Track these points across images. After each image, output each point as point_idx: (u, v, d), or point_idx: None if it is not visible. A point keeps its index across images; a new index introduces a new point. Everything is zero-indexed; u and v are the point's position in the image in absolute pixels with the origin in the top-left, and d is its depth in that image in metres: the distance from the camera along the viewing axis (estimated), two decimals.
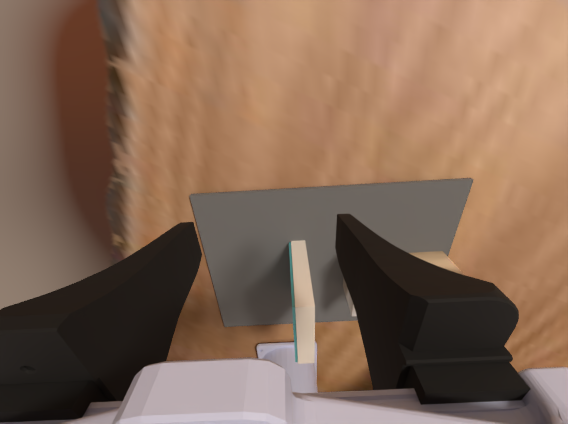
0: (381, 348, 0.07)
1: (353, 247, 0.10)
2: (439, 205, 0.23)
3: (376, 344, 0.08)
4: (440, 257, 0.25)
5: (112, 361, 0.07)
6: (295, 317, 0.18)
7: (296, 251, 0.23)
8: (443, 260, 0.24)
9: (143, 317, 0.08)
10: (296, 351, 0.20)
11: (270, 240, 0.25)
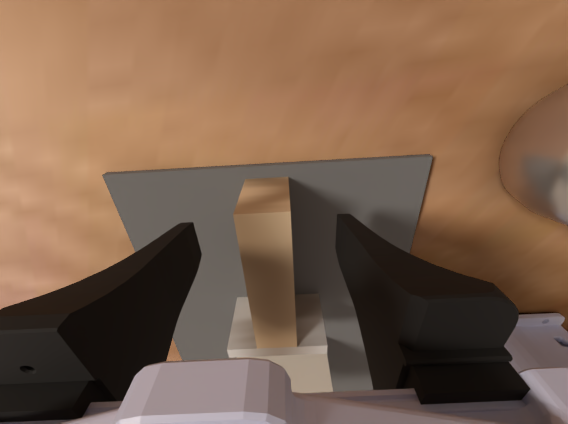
0: (381, 348, 0.07)
1: (353, 247, 0.10)
2: (158, 209, 0.15)
3: (376, 344, 0.08)
4: None
5: (112, 361, 0.07)
6: None
7: None
8: None
9: (143, 317, 0.08)
10: None
11: None
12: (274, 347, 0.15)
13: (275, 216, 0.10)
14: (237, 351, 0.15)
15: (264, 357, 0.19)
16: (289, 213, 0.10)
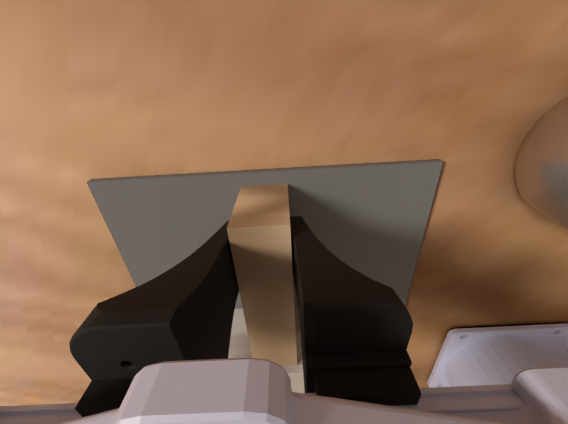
0: (303, 352, 0.07)
1: (294, 250, 0.10)
2: (148, 218, 0.14)
3: (302, 347, 0.08)
4: None
5: (199, 357, 0.07)
6: None
7: None
8: None
9: (214, 313, 0.08)
10: None
11: None
12: None
13: (273, 229, 0.09)
14: None
15: None
16: (289, 226, 0.09)
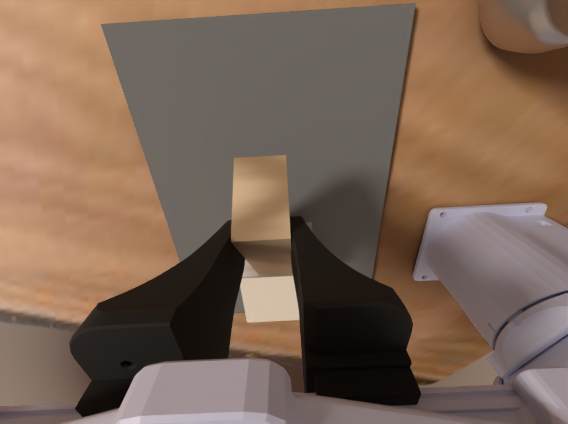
0: (303, 352, 0.07)
1: (294, 250, 0.10)
2: (155, 68, 0.15)
3: (302, 348, 0.08)
4: None
5: (199, 357, 0.07)
6: None
7: None
8: None
9: (215, 314, 0.08)
10: None
11: None
12: (273, 274, 0.18)
13: (274, 240, 0.10)
14: (244, 277, 0.19)
15: None
16: (289, 239, 0.10)
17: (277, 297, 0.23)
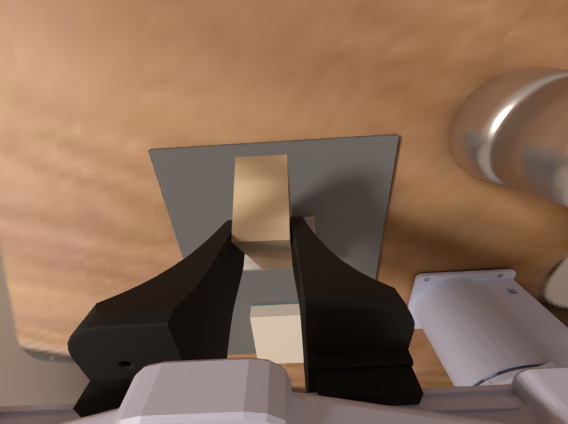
0: (304, 352, 0.07)
1: (295, 250, 0.10)
2: (189, 178, 0.19)
3: (304, 347, 0.08)
4: None
5: (198, 357, 0.07)
6: None
7: None
8: None
9: (213, 314, 0.08)
10: None
11: None
12: (275, 268, 0.19)
13: (274, 241, 0.10)
14: (247, 269, 0.19)
15: (273, 327, 0.25)
16: (288, 240, 0.10)
17: (285, 345, 0.27)
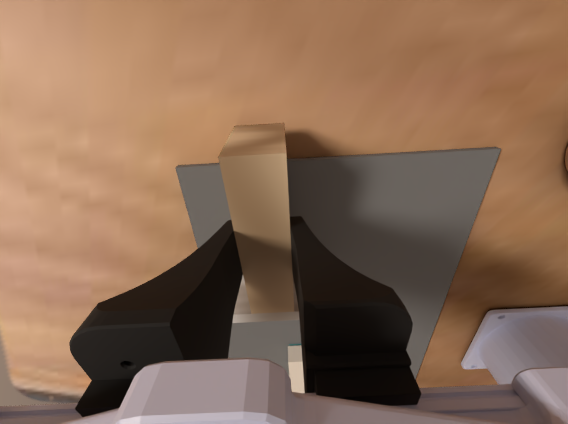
0: (303, 352, 0.07)
1: (294, 250, 0.10)
2: (225, 202, 0.15)
3: (302, 347, 0.08)
4: None
5: (199, 357, 0.07)
6: None
7: None
8: None
9: (215, 314, 0.08)
10: None
11: (286, 355, 0.23)
12: (269, 312, 0.14)
13: (268, 159, 0.09)
14: None
15: None
16: (285, 155, 0.09)
17: None
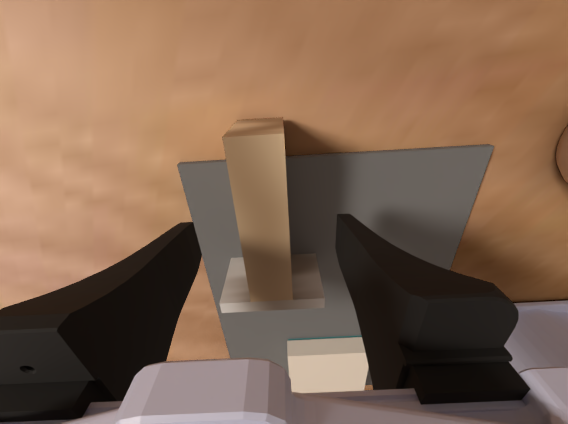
0: (381, 348, 0.07)
1: (353, 247, 0.10)
2: (226, 198, 0.15)
3: (376, 344, 0.08)
4: None
5: (112, 361, 0.07)
6: None
7: None
8: None
9: (143, 317, 0.08)
10: None
11: (285, 350, 0.23)
12: (269, 300, 0.14)
13: (267, 139, 0.10)
14: (230, 305, 0.14)
15: (313, 366, 0.22)
16: (282, 136, 0.10)
17: (325, 384, 0.23)
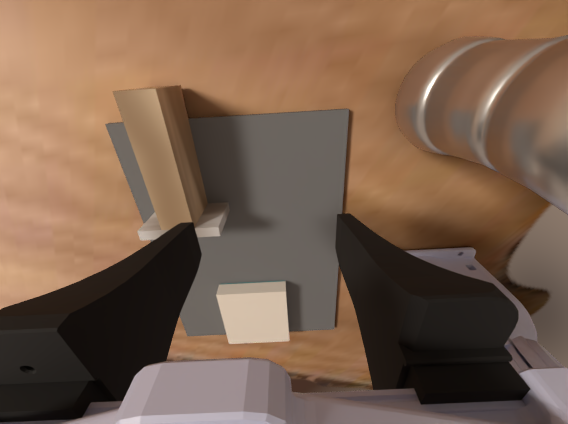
0: (381, 348, 0.07)
1: (353, 247, 0.10)
2: None
3: (376, 344, 0.08)
4: None
5: (112, 361, 0.07)
6: None
7: None
8: None
9: (143, 317, 0.08)
10: None
11: None
12: None
13: (144, 93, 0.14)
14: (146, 233, 0.18)
15: (239, 305, 0.26)
16: (155, 90, 0.14)
17: (253, 324, 0.27)
